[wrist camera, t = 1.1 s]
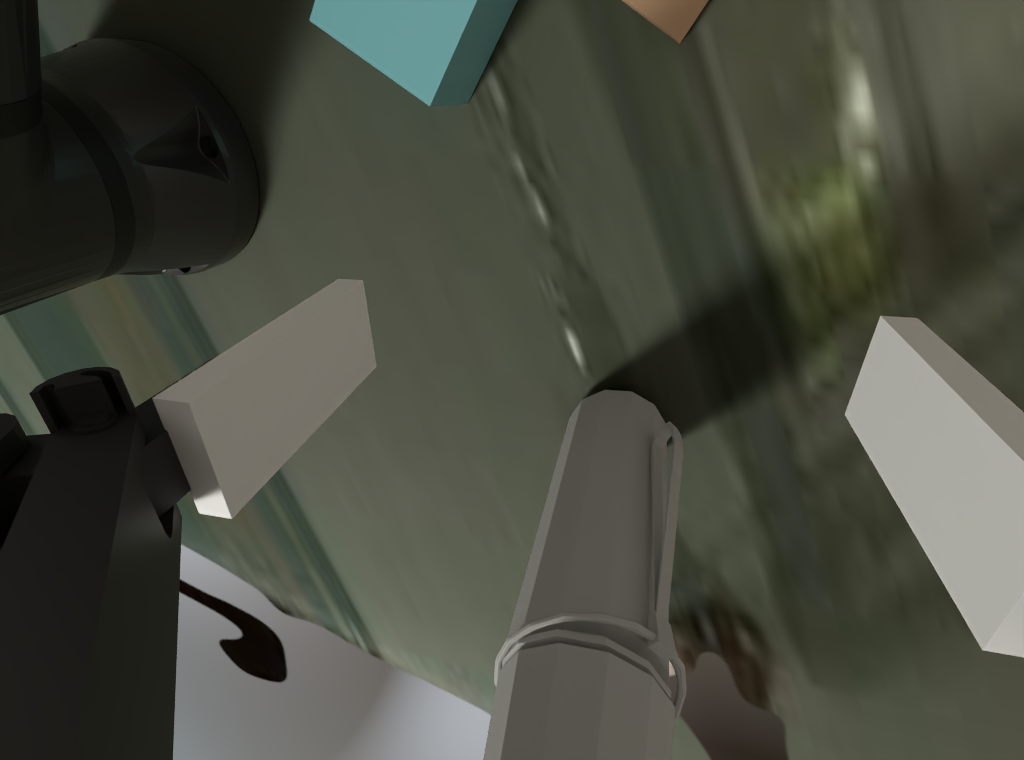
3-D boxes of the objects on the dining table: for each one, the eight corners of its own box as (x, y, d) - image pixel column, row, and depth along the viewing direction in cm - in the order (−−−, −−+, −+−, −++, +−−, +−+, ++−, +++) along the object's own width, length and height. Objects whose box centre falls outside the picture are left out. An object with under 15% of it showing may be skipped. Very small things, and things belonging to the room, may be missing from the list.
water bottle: (617, 482, 42) (571, 892, 20) (546, 418, 40) (418, 782, 19) (714, 420, 37) (783, 865, 16) (637, 344, 36) (600, 719, 15)
